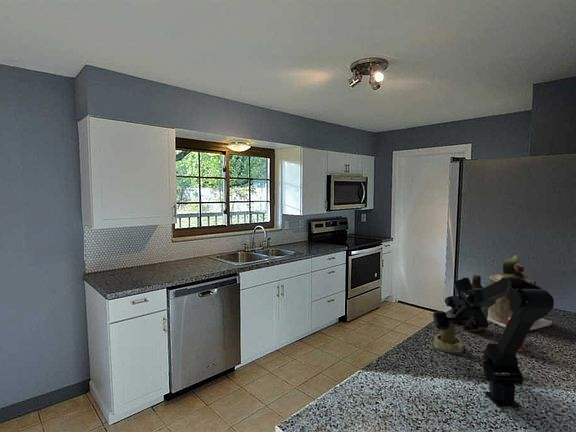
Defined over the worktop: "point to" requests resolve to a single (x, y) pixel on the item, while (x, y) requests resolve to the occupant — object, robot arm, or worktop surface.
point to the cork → (449, 334)
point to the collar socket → (448, 345)
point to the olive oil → (477, 285)
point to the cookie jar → (503, 305)
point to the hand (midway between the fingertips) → (452, 329)
